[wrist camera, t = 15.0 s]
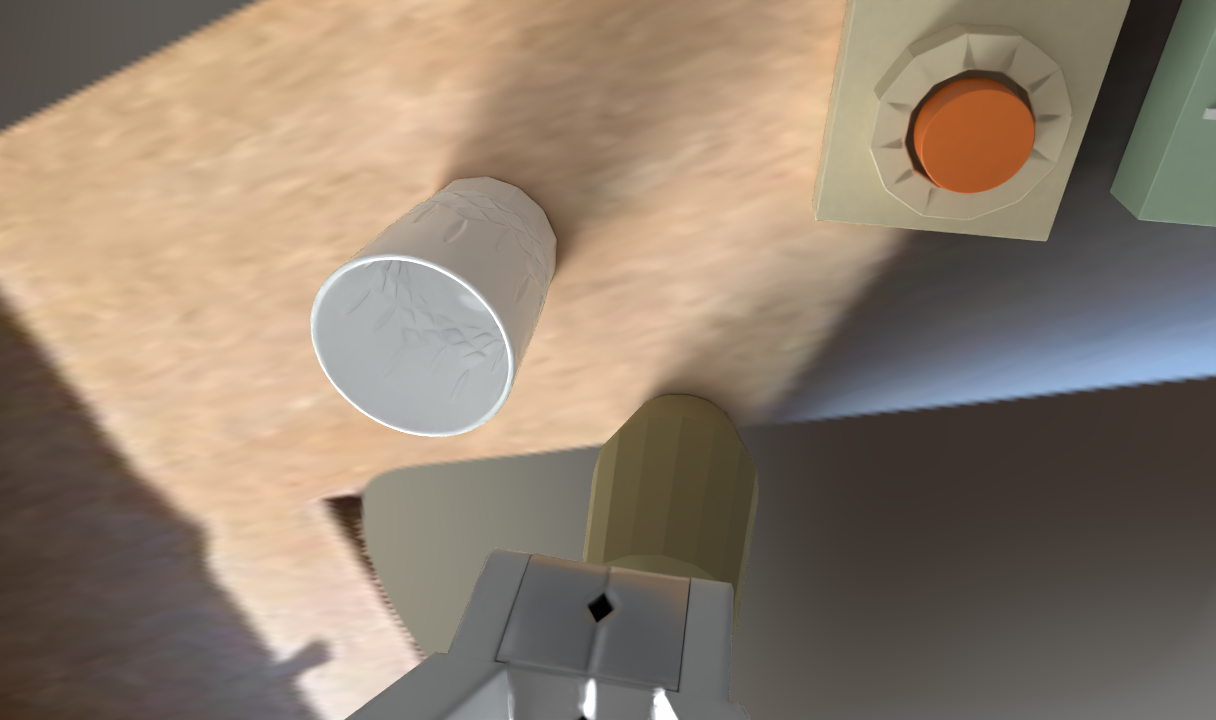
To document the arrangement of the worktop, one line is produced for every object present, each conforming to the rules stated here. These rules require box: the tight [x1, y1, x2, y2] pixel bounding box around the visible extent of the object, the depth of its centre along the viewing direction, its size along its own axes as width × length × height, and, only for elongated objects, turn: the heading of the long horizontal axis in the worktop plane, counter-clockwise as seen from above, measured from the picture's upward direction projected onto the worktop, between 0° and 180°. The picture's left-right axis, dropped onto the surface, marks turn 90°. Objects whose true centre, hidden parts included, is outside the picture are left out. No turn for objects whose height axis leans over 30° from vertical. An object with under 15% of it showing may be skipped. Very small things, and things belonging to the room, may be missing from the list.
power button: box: [913, 77, 1035, 194], centre depth 28 cm, size 4×4×2 cm
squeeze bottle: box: [583, 394, 759, 635], centre depth 35 cm, size 8×8×18 cm
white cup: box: [310, 176, 557, 437], centre depth 34 cm, size 8×8×10 cm
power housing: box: [812, 0, 1131, 241], centre depth 29 cm, size 11×9×4 cm
